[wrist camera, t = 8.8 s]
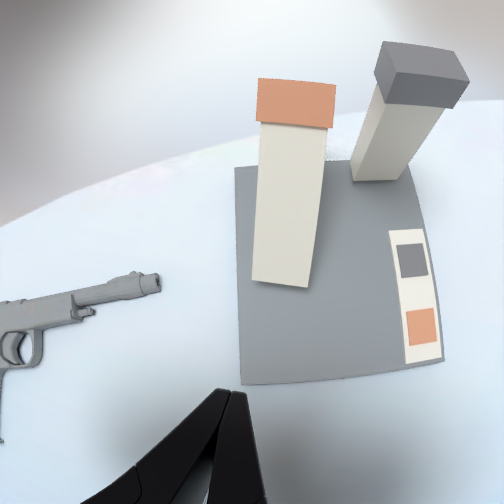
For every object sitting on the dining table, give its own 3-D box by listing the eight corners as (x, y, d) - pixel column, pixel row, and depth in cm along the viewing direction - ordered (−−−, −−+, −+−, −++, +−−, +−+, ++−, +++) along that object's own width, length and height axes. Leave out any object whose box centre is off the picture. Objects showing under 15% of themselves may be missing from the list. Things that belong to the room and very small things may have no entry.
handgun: (184, 460, 15) (149, 261, 19) (-42, 438, 15) (-56, 309, 19) (194, 449, 18) (162, 271, 21) (-25, 436, 17) (-39, 314, 21)
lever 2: (400, 182, 19) (470, 81, 9) (350, 183, 19) (396, 71, 9) (394, 158, 20) (453, 51, 10) (346, 158, 20) (382, 40, 10)
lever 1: (311, 290, 17) (336, 84, 12) (247, 281, 17) (258, 78, 13) (312, 273, 18) (333, 87, 14) (253, 265, 19) (264, 81, 14)
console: (438, 361, 17) (447, 361, 16) (242, 383, 18) (240, 385, 17) (403, 165, 21) (407, 157, 20) (236, 174, 22) (233, 164, 21)
